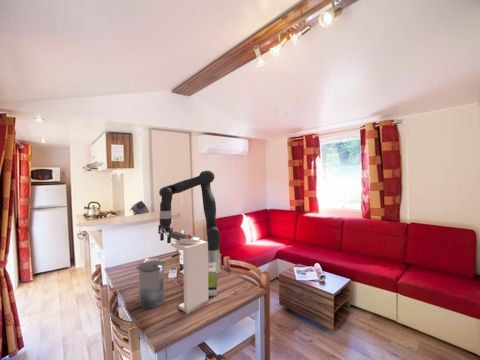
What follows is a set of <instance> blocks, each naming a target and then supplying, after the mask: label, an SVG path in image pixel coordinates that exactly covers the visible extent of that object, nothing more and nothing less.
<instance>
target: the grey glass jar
mask: <svg viewBox="0 0 480 360" xmlns="http://www.w3.org/2000/svg"><path fill="white" fill-rule="evenodd" d="M137 269H138V279H139V280H138V281H139V282H138V285H139V291H138V292H139V307H140V308H141V309H143V310H144V309H145V310H150V309H152V310H153V309H155V308H158V307H160V306H161V305H163V304H164V302H165V262H164V261H149V262H145V263H143V262H142V263H141V264H139V265H138V267H137Z"/></svg>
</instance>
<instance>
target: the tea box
mask: <svg viewBox="0 0 480 360" xmlns="http://www.w3.org/2000/svg"><path fill="white" fill-rule="evenodd" d="M217 292H218V274H217V263H216V262H213V263H208V297H212V296H213V297H215V296H217V295H218V293H217Z"/></svg>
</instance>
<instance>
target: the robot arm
mask: <svg viewBox="0 0 480 360" xmlns="http://www.w3.org/2000/svg"><path fill="white" fill-rule="evenodd" d="M214 180H215V173H214V172H213V171H211V170H204V171H201V172H200V173H199V174H198V175H197V176H195V177H191V178H188V179H184V180H181V181H178V182H176V183H173V184H170V185H167V186H162V187H161V188H160V189H159V196H160V197H161V201H160V205H159V224H158V226H157V227H158V230H157V233H158V234H159V235H160V236H159V237H160V239H159V240H160V241H161V242H162V241H164V240H165V239H164V238H165V236H166V239H167V240H166V241H167V242H166V243H167V244H171V242H172V238H170V232H174V227H173V226H171V225H172V214H173V213H172V201H173V195H175V194H180V193H184V192H185V191H187V190H191V189H193V188H194V187H197V186H200V188H201V189H200V190H201V195H202V207H203V213H204V218H205V224H206V225H205V226H206V227H205V230H206V231H205V233H206V236H207V237H206V239H207V240H206V242H208V263H213V262H216V263H217V275H218V274H219V273H221V272H222V270H221V268H222V265H221V264H222V263H221V261H222V260H221V258H220V246H221V233H220V230H219V229H218V225H217V220H216V217H217V216H216V215H217V204H216V199H215V197H214V196H215V195H214V193H213V191H212V189H211V183H212V182H214ZM164 234H165V235H164Z"/></svg>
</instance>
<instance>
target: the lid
mask: <svg viewBox="0 0 480 360" xmlns="http://www.w3.org/2000/svg"><path fill="white" fill-rule="evenodd" d="M170 238H171V239H174V240H176V241H180V244H181V245H195V244H198V243H200V240H201V236H199V235H195V234H194V235H193V234H192V233H188V234H185V233H182V232H178V231H173V232H170Z"/></svg>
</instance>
